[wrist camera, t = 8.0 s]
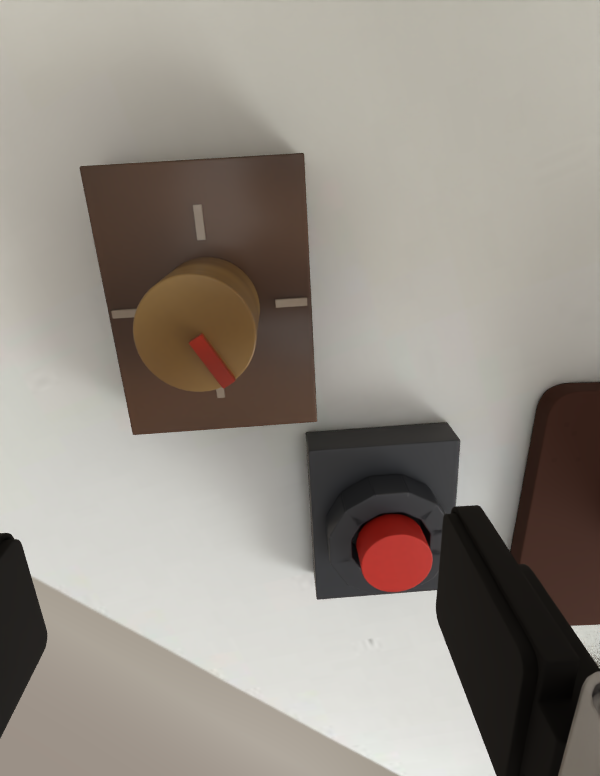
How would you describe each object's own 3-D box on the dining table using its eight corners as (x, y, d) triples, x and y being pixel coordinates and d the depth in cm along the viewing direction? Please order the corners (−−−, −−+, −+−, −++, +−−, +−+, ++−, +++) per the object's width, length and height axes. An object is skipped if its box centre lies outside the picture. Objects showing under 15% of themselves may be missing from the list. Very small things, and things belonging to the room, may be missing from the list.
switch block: (305, 432, 28) (310, 468, 25) (447, 421, 28) (473, 456, 25) (314, 573, 32) (319, 624, 28) (439, 563, 32) (461, 613, 28)
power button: (355, 515, 26) (360, 537, 24) (424, 510, 26) (434, 531, 25) (356, 571, 27) (361, 595, 26) (422, 566, 28) (431, 589, 26)
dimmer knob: (138, 293, 22) (103, 320, 17) (221, 236, 21) (207, 248, 17) (199, 372, 23) (181, 416, 19) (278, 321, 23) (280, 354, 18)
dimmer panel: (102, 169, 23) (77, 166, 20) (300, 157, 23) (304, 152, 20) (147, 410, 27) (131, 437, 24) (313, 398, 28) (317, 423, 25)
